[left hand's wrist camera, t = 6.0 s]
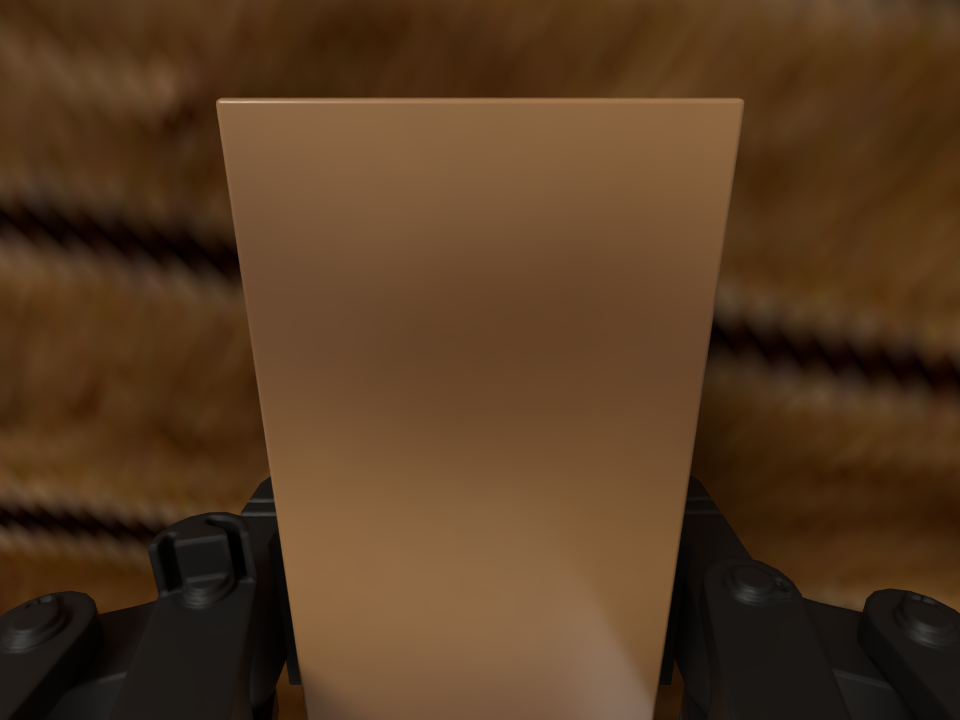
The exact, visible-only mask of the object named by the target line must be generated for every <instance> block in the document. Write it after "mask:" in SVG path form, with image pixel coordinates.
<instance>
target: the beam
mask: <svg viewBox="0 0 960 720" xmlns="http://www.w3.org/2000/svg"><path fill="white" fill-rule="evenodd" d="M216 107H217V114H218V121H219V127H220V134H221V141H222V148H223V154H224V161H225V168H226V175H227V182H228V188H229V195H230V202H231V209H232V216H233V222H234V229H235V236H236V243H237V249H238V256H239V263H240V270H241V277H242V283H243V290H244V297H245V304H246V311H247V317H248V324H249V331H250V338H251V344H252V351H253V358H254V365H255V372H256V378H257V385H258V392H259V399H260V406H261V412H262V419H263V426H264V433H265V439H266V446H267V453H268V460H269V467H270V473H271V480H272V487H273V494H274V501H275V507H276V514H277V521H278V528H279V534H280V541H281V548H282V555H283V562H284V568H285V575H286V582H287V589H288V596H289V602H290V609H291V616H292V623H293V629H294V636H295V643H296V650H297V657H298V663H299V670H300V677H301V684H302V691H303V697H304V704H305V711H306V718H307V720H654V714H655V707H656V700H657V693H658V687H659V680H660V673H661V666H662V660H663V653H664V646H665V639H666V632H667V626H668V619H669V612H670V605H671V599H672V592H673V585H674V578H675V571H676V565H677V558H678V551H679V544H680V538H681V531H682V524H683V517H684V511H685V504H686V497H687V490H688V483H689V477H690V470H691V463H692V456H693V450H694V443H695V436H696V429H697V422H698V416H699V409H700V402H701V395H702V389H703V382H704V375H705V368H706V362H707V355H708V348H709V341H710V334H711V328H712V321H713V314H714V307H715V301H716V294H717V287H718V280H719V273H720V267H721V260H722V253H723V246H724V240H725V233H726V226H727V219H728V212H729V206H730V199H731V192H732V185H733V179H734V172H735V165H736V158H737V152H738V145H739V138H740V131H741V124H742V118H743V111H744V100H742V99H740V98H221V99H218V100H217V102H216Z"/></svg>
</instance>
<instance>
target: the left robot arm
mask: <svg viewBox="0 0 960 720" xmlns="http://www.w3.org/2000/svg"><path fill="white" fill-rule="evenodd" d="M147 548H148V552H149V556H150V561H151V565H152V569H153V573H154V577H155V581H156V585H157V589H158V593H159V596H158V598H157V600H156V601H153V602H149V603H146V604H143V605H139V606H134V607H130V608H126V609H121V610H117V611H112V612H108V613H104V614H98V611H97V608H96V604H95V601H94V600H93V599H92V598H91V597H90V596H88V595H87V594H86V593H80V592H75V591H66V592H58V593H51V594H48V595H45V596H41V597H39V598H35V599H32V600H29V601H27V602H25V603H23V604H21V605H20V606H18V607H16V608H14V609H12V610H10V611H8V612H6V613H5V614H4V615H2V616H1V617H0V720H278V714H279V705H278V698H277V691H276V684H277V681H278V679H279V676H280V674H281V671H282V668H283V666H284V663H285V661H286V663H287V670H288V676H289V683H290V685H302V684H301V677H300V670H299V663H298V657H297V650H296V643H295V636H294V629H293V623H292V616H291V609H290V602H289V596H288V589H287V582H286V575H285V568H284V562H283V555H282V548H281V541H280V534H279V528H278V521H277V514H276V507H275V501H274V494H273V487H272V480H271V476H270V477H269V478H267V479H266V480H265V481H263V482H262V483H261V484H260V485H259V487H258V488H257V490H256V491H255V493H254V494H253V496H252V497H251V499H250V503H247V505H246V506H245V507H244V509H243V510H242V512H241V516H239V515H235V514H231V513H228V512H211V513H205V514H200V515H196V516H192V517H189V518H186V519H184V520H182V521H179V522H177V523H175V524H172V525H171V526H169V527H168V528H166V529H165V530H163V531H162V532H161V533H159V534H158V535H156V537H155V538H154V539H153V540H152V542H151V543H150V544H149V545H148V547H147ZM674 659H675V660H676V662H677V665H678V667H679V670H680V673H681V675H682V678H683V680H684V683H685V685H684V691H683V697H682V703H681V709H680V715H679V720H960V613H958V612H957V611H956V610H954V609H952V608H950V607H948V606H947V605H945V604H943V603H941V602H939V601H937V600H935V599H933V598H930V597H927V596H925V595H921V594H918V593H915V592H912V591H906V590H898V589H884V590H879V591H875V592H873V593H872V594H871V595H870V596H869V597H868V598H867V599H866V602H865V606H864V609H863V612H859V611H854V610H850V609H845V608H841V607H837V606H832V605H828V604H823V603H819V602H816V601H812V600H809V599H806V598H803V597H802V595H801V593H800V592H799V590H798V589H797V587H796V586H795V584H794V583H793V582H792V581H791V580H790V579H789V578H788V577H786V576H785V575H784V574H783V573H781V572H780V571H779V570H777V569H775V568H773V567H771V566H769V565H767V564H765V563H763V562H761V561H757V560H753V559H752V558H751V557H750V555H749V554H748V552H747V551H746V549H745V548H744V546H743V545H742V543H741V542H740V540H739V539H738V537H737V536H736V534H735V533H734V531H733V530H732V528H731V527H730V525H729V524H728V522H727V521H726V519H725V518H724V516H723V515H722V514H720V511H719V509H718V508H717V506H716V505H715V503H714V502H713V501H711V497H710V496H709V494H708V493H707V491H706V490H705V488H704V487H703V485H702V484H701V482H700V481H698V480H697V479H696V478H694V477H693V476H691V475H690V477H689V483H688V490H687V497H686V504H685V511H684V517H683V524H682V531H681V538H680V544H679V551H678V558H677V565H676V571H675V578H674V585H673V592H672V599H671V605H670V612H669V619H668V626H667V632H666V639H665V646H664V653H663V660H662V666H661V673H660V680H659V685H671V678H672V672H673V666H674Z"/></svg>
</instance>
